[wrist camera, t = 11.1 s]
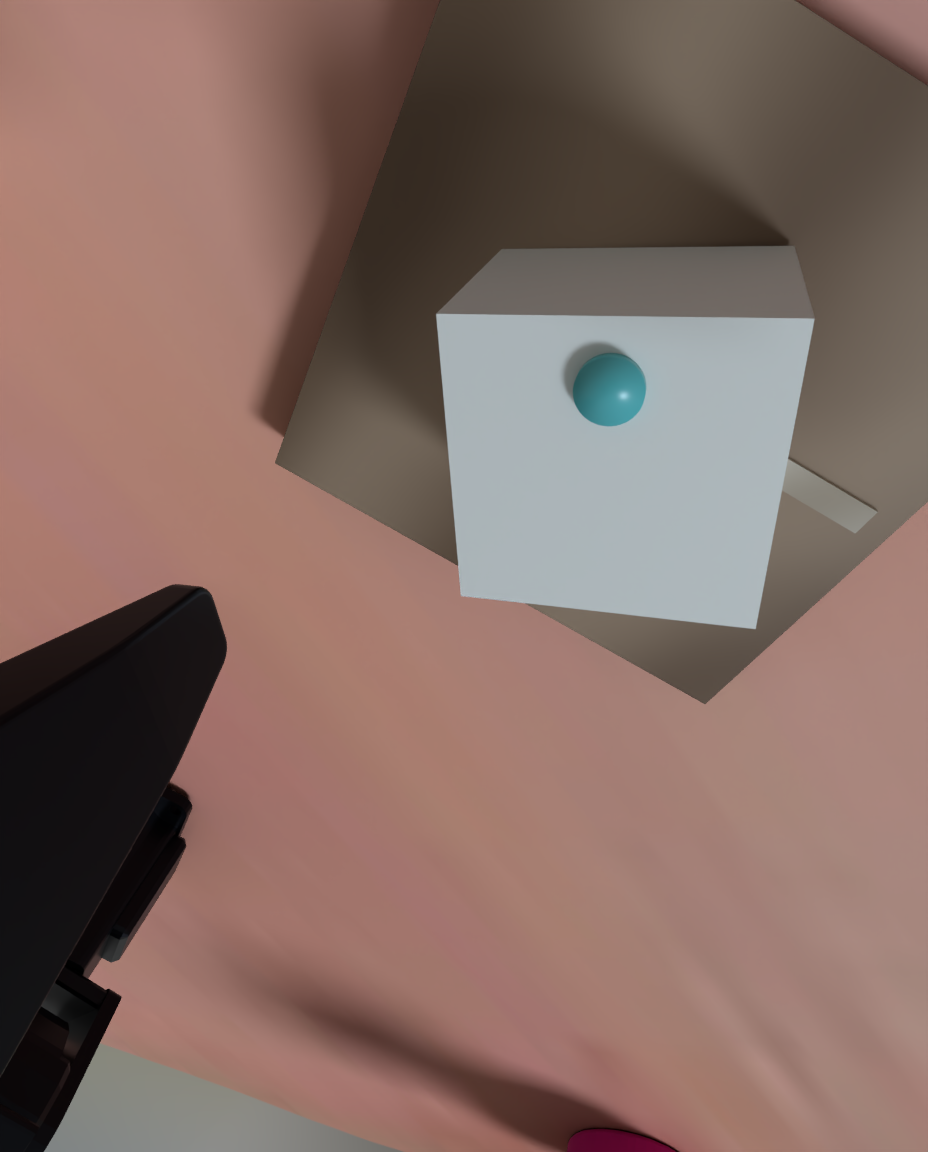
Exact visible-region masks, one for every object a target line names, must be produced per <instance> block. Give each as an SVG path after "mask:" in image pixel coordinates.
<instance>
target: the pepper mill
mask: <svg viewBox="0 0 928 1152" xmlns="http://www.w3.org/2000/svg"><path fill="white" fill-rule="evenodd" d="M567 1152H676V1151H674V1150H673V1149H671V1148H670V1147H668V1146H666V1145H663V1144H661V1143H659V1142H657V1141H654V1140H652V1139H649V1138H646V1137H643V1136H640V1135H637V1134H633V1133H628V1132H624V1131H619V1130H610V1129H590V1130H583V1131H581V1132H578V1133H576V1134H575V1135H573V1136H572V1137H571V1138H570V1140H569V1142H568V1147H567Z"/></svg>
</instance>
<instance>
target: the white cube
mask: <svg viewBox="0 0 928 1152" xmlns="http://www.w3.org/2000/svg"><path fill="white" fill-rule="evenodd" d="M436 319H437V330H438V341H439V353H440V364H441V375H442V387H443V398H444V409H445V421H446V432H447V443H448V455H449V466H450V477H451V488H452V500H453V511H454V522H455V534H456V545H457V556H458V568H459V579H460V590H461V596H467V597H475V598H484V599H493V600H502V601H511V602H520V603H529V604H537V605H546V606H555V607H564V608H573V609H582V610H590V611H599V612H608V613H617V614H626V615H635V616H643V617H652V618H661V619H670V620H679V621H688V622H696V623H705V624H714V625H723V626H732V627H741V628H749V629H756V624H757V619H758V614H759V609H760V603H761V598H762V593H763V588H764V582H765V577H766V572H767V567H768V561H769V556H770V551H771V546H772V540H773V535H774V530H775V525H776V519H777V514H778V509H779V504H780V498H781V493H782V488H783V483H784V477H785V472H786V467H787V461H788V456H789V451H790V446H791V440H792V435H793V430H794V425H795V419H796V414H797V409H798V404H799V398H800V393H801V388H802V383H803V377H804V372H805V367H806V362H807V356H808V351H809V346H810V341H811V335H812V330H813V325H814V320H815V318H814V314H813V311H812V307H811V304H810V300H809V296H808V293H807V289H806V286H805V282H804V279H803V275H802V271H801V268H800V264H799V261H798V257H797V253H796V250H795V246H729V247H636V248H542V249H501V250H500V251H499V252H498V253H497V254H496V255H495V256H494V257H493V258H492V259H491V260H490V261H489V262H488V263H487V264H486V265H485V266H484V267H483V268H482V269H481V270H480V271H479V272H478V273H477V274H476V275H475V276H474V277H473V278H472V279H471V280H470V281H469V282H468V283H467V284H466V285H465V286H464V287H463V288H462V289H461V290H460V291H459V292H458V293H457V294H456V295H455V296H454V297H453V298H452V299H451V300H450V301H449V302H448V303H447V304H446V305H445V306H444V307H443V308H441V309H440V310H439V311H438V312H437V313H436Z"/></svg>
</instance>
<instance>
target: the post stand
mask: <svg viewBox="0 0 928 1152" xmlns="http://www.w3.org/2000/svg"><path fill="white" fill-rule="evenodd" d="M729 246H795V250H796V253H797V257H798V261H799V264H800V268H801V271H802V275H803V279H804V282H805V286H806V289H807V293H808V296H809V300H810V304H811V307H812V311H813V314H814V318H815V320H814V325H813V330H812V335H811V341H810V346H809V351H808V356H807V362H806V367H805V372H804V377H803V383H802V388H801V393H800V398H799V404H798V409H797V414H796V419H795V425H794V430H793V435H792V440H791V446H790V451H789V456H788V461H787V467H786V472H785V477H784V483H783V488H782V493H781V498H780V504H779V509H778V514H777V519H776V525H775V530H774V535H773V540H772V546H771V551H770V556H769V561H768V567H767V572H766V577H765V582H764V588H763V593H762V598H761V603H760V609H759V614H758V619H757V624H756V629H749V628H741V627H732V626H723V625H714V624H705V623H696V622H688V621H679V620H670V619H661V618H652V617H643V616H635V615H626V614H617V613H608V612H599V611H590V610H582V609H573V608H564V607H555V606H546V605H537V604H529V603H525V604H527V605H529V606H531V607H533V608H534V609H536V610H538V611H540V612H542V613H543V614H545V615H547V616H549V617H550V618H552V619H554V620H556V621H558V622H559V623H561V624H563V625H565V626H567V627H568V628H570V629H572V630H574V631H575V632H577V633H579V634H581V635H583V636H584V637H586V638H588V639H590V640H591V641H593V642H595V643H597V644H599V645H600V646H602V647H604V648H606V649H608V650H609V651H611V652H613V653H615V654H616V655H618V656H620V657H622V658H624V659H625V660H627V661H629V662H631V663H632V664H634V665H636V666H638V667H640V668H641V669H643V670H645V671H647V672H649V673H650V674H652V675H654V676H656V677H657V678H659V679H661V680H663V681H665V682H666V683H668V684H670V685H672V686H674V687H675V688H677V689H679V690H681V691H682V692H684V693H686V694H688V695H690V696H691V697H693V698H695V699H697V700H698V701H700V702H702V703H704V704H706V703H707V702H708V701H709V700H710V699H711V698H712V697H714V696H715V695H716V694H717V693H718V692H719V691H720V690H721V689H722V688H723V687H725V686H726V685H727V684H728V683H729V682H730V681H731V680H732V679H733V678H734V677H736V676H737V675H738V674H739V673H740V672H741V671H742V670H743V669H744V668H745V667H746V666H748V665H749V664H750V663H751V662H752V661H753V660H754V659H755V658H756V657H757V656H759V655H760V654H761V653H762V652H763V651H764V650H765V649H766V648H767V647H768V646H770V645H771V644H772V643H773V642H774V641H775V640H776V639H777V638H778V637H779V636H781V635H782V634H783V633H784V632H785V631H786V630H787V629H788V628H789V627H790V626H792V625H793V624H794V623H795V622H796V621H797V620H798V619H799V618H800V617H801V616H803V615H804V614H805V613H806V612H807V611H808V610H809V609H810V608H811V607H812V606H814V605H815V604H816V603H817V602H818V601H819V600H820V599H821V598H822V597H823V596H825V595H826V594H827V593H828V592H829V591H830V590H831V589H832V588H833V587H834V586H836V585H837V584H838V583H839V582H840V581H841V580H842V579H843V578H844V577H845V576H846V575H848V574H849V573H850V572H851V571H852V570H853V569H854V568H855V567H856V566H857V565H859V564H860V563H861V562H862V561H863V560H864V559H865V558H866V557H867V556H868V555H870V554H871V553H872V552H873V551H874V550H875V549H876V548H877V547H878V546H879V545H881V544H882V543H883V542H884V541H885V540H886V539H887V538H888V537H889V536H890V535H892V534H893V533H894V532H895V531H896V530H897V529H898V528H899V527H900V526H901V525H903V524H904V523H905V522H906V521H907V520H908V519H909V518H910V517H911V516H912V515H914V514H915V513H916V512H917V511H918V510H919V509H920V508H921V507H922V506H923V505H925V504H926V503H927V502H928V86H927V85H926V84H924V83H923V82H921V81H919V80H918V79H916V78H915V77H913V76H912V75H910V74H909V73H907V72H905V71H904V70H902V69H901V68H899V67H898V66H896V65H895V64H893V63H891V62H890V61H888V60H887V59H885V58H884V57H882V56H881V55H879V54H877V53H876V52H874V51H873V50H871V49H870V48H868V47H867V46H865V45H864V44H862V43H860V42H859V41H857V40H856V39H854V38H853V37H851V36H850V35H848V34H846V33H845V32H843V31H842V30H840V29H839V28H837V27H836V26H834V25H832V24H831V23H829V22H828V21H826V20H825V19H823V18H822V17H820V16H818V15H817V14H815V13H814V12H812V11H811V10H809V9H808V8H806V7H805V6H803V5H801V4H800V3H798V2H797V1H795V0H440V2H439V5H438V8H437V11H436V13H435V16H434V19H433V22H432V25H431V27H430V30H429V33H428V36H427V39H426V41H425V44H424V47H423V50H422V53H421V55H420V58H419V61H418V64H417V67H416V69H415V72H414V75H413V78H412V81H411V83H410V86H409V89H408V92H407V95H406V97H405V100H404V103H403V106H402V109H401V111H400V114H399V117H398V120H397V123H396V125H395V128H394V131H393V134H392V137H391V139H390V142H389V145H388V148H387V151H386V153H385V156H384V159H383V162H382V165H381V167H380V170H379V173H378V176H377V179H376V181H375V184H374V187H373V190H372V193H371V195H370V198H369V201H368V204H367V207H366V209H365V212H364V215H363V218H362V221H361V223H360V226H359V229H358V232H357V235H356V237H355V240H354V243H353V246H352V249H351V251H350V254H349V257H348V260H347V263H346V265H345V268H344V271H343V274H342V277H341V279H340V282H339V285H338V288H337V291H336V293H335V296H334V299H333V302H332V305H331V307H330V310H329V313H328V316H327V319H326V321H325V324H324V327H323V330H322V333H321V335H320V338H319V341H318V344H317V347H316V349H315V352H314V355H313V358H312V361H311V363H310V366H309V369H308V372H307V375H306V377H305V380H304V383H303V386H302V389H301V391H300V394H299V397H298V400H297V403H296V405H295V408H294V411H293V414H292V417H291V419H290V422H289V425H288V428H287V431H286V433H285V436H284V439H283V442H282V445H281V447H280V450H279V453H278V456H277V459H276V461H275V463H276V464H278V465H279V466H281V467H283V468H285V469H286V470H288V471H290V472H292V473H294V474H295V475H297V476H299V477H301V478H303V479H304V480H306V481H308V482H310V483H311V484H313V485H315V486H317V487H319V488H320V489H322V490H324V491H326V492H328V493H329V494H331V495H333V496H335V497H336V498H338V499H340V500H342V501H344V502H345V503H347V504H349V505H351V506H352V507H354V508H356V509H358V510H360V511H361V512H363V513H365V514H367V515H369V516H370V517H372V518H374V519H376V520H377V521H379V522H381V523H383V524H385V525H386V526H388V527H390V528H392V529H393V530H395V531H397V532H399V533H401V534H402V535H404V536H406V537H408V538H410V539H411V540H413V541H415V542H417V543H418V544H420V545H422V546H424V547H426V548H427V549H429V550H431V551H433V552H435V553H436V554H438V555H440V556H442V557H443V558H445V559H447V560H449V561H451V562H452V563H454V564H456V565H458V556H457V545H456V534H455V522H454V511H453V500H452V488H451V477H450V466H449V455H448V443H447V432H446V421H445V409H444V398H443V387H442V375H441V364H440V353H439V341H438V330H437V319H436V313H437V312H438V311H439V310H440V309H441V308H443V307H444V306H445V305H446V304H447V303H448V302H449V301H450V300H451V299H452V298H453V297H454V296H455V295H456V294H457V293H458V292H459V291H460V290H461V289H462V288H463V287H464V286H465V285H466V284H467V283H468V282H469V281H470V280H471V279H472V278H473V277H474V276H475V275H476V274H477V273H478V272H479V271H480V270H481V269H482V268H483V267H484V266H485V265H486V264H487V263H488V262H489V261H490V260H491V259H492V258H493V257H494V256H495V255H496V254H497V253H498V252H499V251H500V250H501V249H542V248H636V247H729Z"/></svg>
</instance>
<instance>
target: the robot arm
mask: <svg viewBox="0 0 928 1152" xmlns="http://www.w3.org/2000/svg"><path fill="white" fill-rule="evenodd" d="M226 652H227V642H226V637H225V634H224V631H223V628H222V625H221V622H220V619H219V616H218V613H217V609H216V606H215V603H214V600H213V597H212V595H211V594H210V592H209V591H208V590H207V589H205V588H203V587H199V586H190V585H180V584H175V585H170V586H168V587H165V588H163V589H161V590H159V591H157V592H154V593H152V594H150V595H148V596H146V597H144V598H141V599H139V600H137V601H135V602H133V603H131V604H128V605H126V606H124V607H122V608H120V609H118V610H115V611H113V612H111V613H109V614H107V615H105V616H102V617H100V618H98V619H96V620H94V621H92V622H89V623H87V624H85V625H83V626H81V627H78V628H76V629H74V630H72V631H70V632H68V633H65V634H63V635H61V636H59V637H57V638H55V639H52V640H50V641H48V642H46V643H44V644H42V645H39V646H37V647H35V648H33V649H31V650H29V651H26V652H24V653H22V654H20V655H18V656H15V657H13V658H11V659H9V660H7V661H5V662H2V663H0V1152H44V1150H45V1149H46V1147H47V1146H48V1144H49V1142H50V1141H51V1139H52V1137H53V1135H54V1134H55V1132H56V1130H57V1128H58V1127H59V1125H60V1123H61V1121H62V1119H63V1117H64V1115H65V1113H66V1111H67V1109H68V1107H69V1105H70V1103H71V1101H72V1099H73V1097H74V1095H75V1093H76V1091H77V1089H78V1087H79V1084H80V1082H81V1080H82V1078H83V1076H84V1074H85V1072H86V1070H87V1068H88V1066H89V1064H90V1062H91V1060H92V1058H93V1056H94V1054H95V1052H96V1049H97V1048H98V1045H99V1043H100V1041H101V1039H102V1037H103V1035H104V1033H105V1031H106V1029H107V1027H108V1025H109V1023H110V1021H111V1019H112V1017H113V1015H114V1013H115V1011H116V1009H117V1007H118V1004H119V1002H120V1000H121V996H120V995H118V994H117V993H115V992H114V991H112V990H110V989H107V990H105V989H103V988H102V987H100V986H98V985H97V984H95V983H94V982H92V981H91V980H89V979H88V978H89V977H90V975H91V973H92V972H93V970H94V969H95V967H96V966H97V964H98V963H99V961H100V960H101V958H103V959H105V960H107V961H109V962H114V961H117V960H119V959H120V958H121V956H122V955H123V953H124V951H125V950H126V948H127V947H128V945H129V943H130V942H131V940H132V939H133V937H134V936H135V934H136V932H137V931H138V929H139V928H140V926H141V924H142V923H143V921H144V920H145V918H146V917H147V915H148V913H149V912H150V910H151V909H152V907H153V906H154V904H155V902H156V901H157V899H158V898H159V896H160V894H161V893H162V891H163V890H164V888H165V887H166V885H167V883H168V882H169V880H170V879H171V877H172V875H173V874H174V872H175V870H176V868H177V866H178V864H179V861H180V859H181V857H182V855H183V852H184V850H185V848H186V843H185V839H184V838H182V837H180V836H181V833H182V831H183V829H184V826H185V824H186V822H187V819H188V817H189V815H190V812H191V810H192V804H191V802H190V801H189V800H188V799H187V798H185V797H184V796H182V795H180V794H178V793H176V792H174V791H173V790H171V789H169V788H167V785H168V783H169V781H170V779H171V778H172V776H173V774H174V772H175V770H176V768H177V766H178V764H179V762H180V760H181V758H182V756H183V754H184V752H185V749H186V747H187V745H188V743H189V740H190V738H191V736H192V734H193V731H194V729H195V727H196V725H197V722H198V720H199V718H200V715H201V713H202V711H203V709H204V706H205V704H206V702H207V700H208V697H209V695H210V693H211V691H212V688H213V686H214V684H215V682H216V679H217V677H218V675H219V673H220V670H221V668H222V666H223V664H224V661H225V657H226Z"/></svg>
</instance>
